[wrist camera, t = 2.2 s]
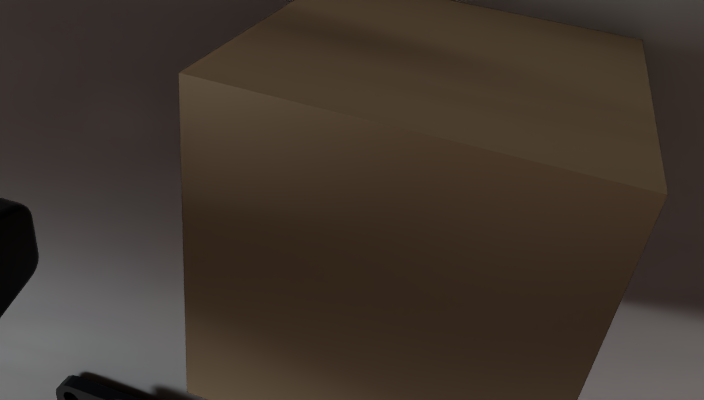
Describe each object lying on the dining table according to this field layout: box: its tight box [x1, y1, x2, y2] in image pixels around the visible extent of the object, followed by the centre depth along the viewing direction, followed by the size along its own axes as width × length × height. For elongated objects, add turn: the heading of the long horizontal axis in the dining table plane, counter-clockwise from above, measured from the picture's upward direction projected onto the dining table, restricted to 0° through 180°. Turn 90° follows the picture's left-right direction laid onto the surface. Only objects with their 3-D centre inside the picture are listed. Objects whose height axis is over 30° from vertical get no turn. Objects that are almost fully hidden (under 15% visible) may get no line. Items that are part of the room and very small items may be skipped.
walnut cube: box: [179, 0, 668, 400], centre depth 10 cm, size 5×5×5 cm
